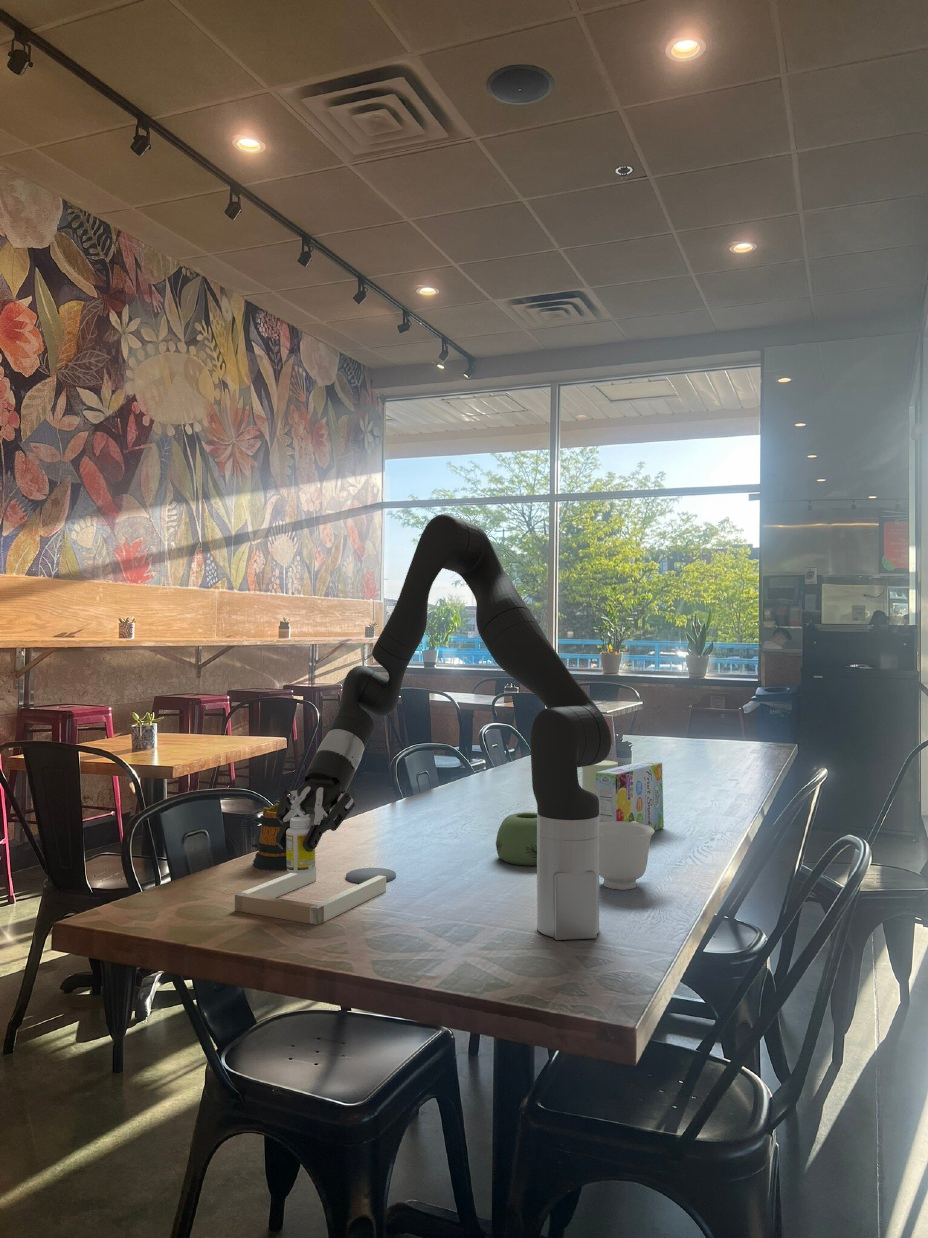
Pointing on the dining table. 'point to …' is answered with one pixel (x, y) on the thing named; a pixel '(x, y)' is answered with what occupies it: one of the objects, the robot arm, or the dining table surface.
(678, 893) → the dining table surface
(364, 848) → the dining table surface
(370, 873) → the coaster
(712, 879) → the dining table surface
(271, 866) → the mug
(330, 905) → the beige frame
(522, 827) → the mug
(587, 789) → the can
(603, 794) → the snack box
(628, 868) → the teacup
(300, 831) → the supplement bottle
